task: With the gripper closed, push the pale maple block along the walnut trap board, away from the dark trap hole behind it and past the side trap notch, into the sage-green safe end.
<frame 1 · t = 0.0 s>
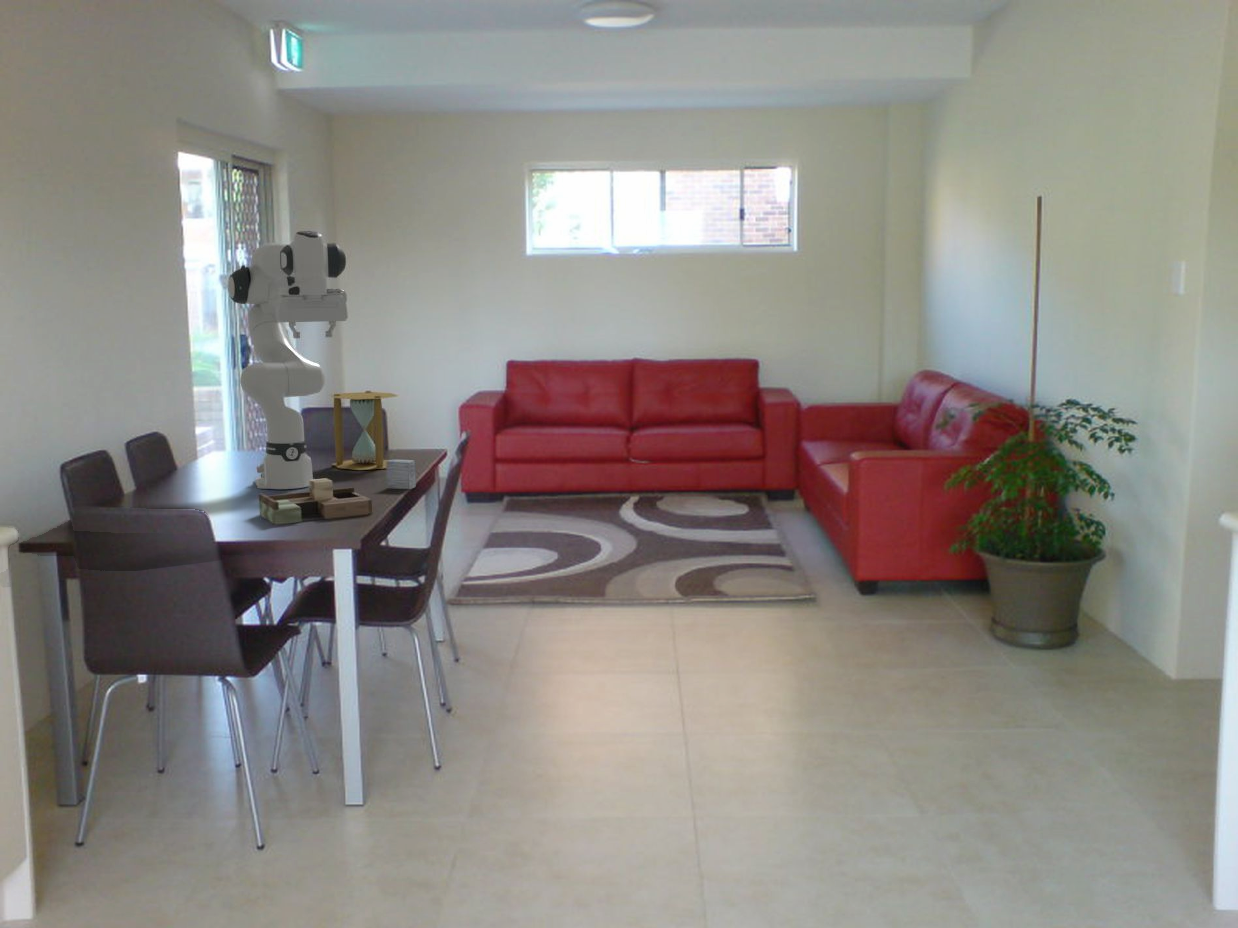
hand: (312, 337, 340), 48 cm above the table, fingers open, 8 cm apart
maple block: (321, 497, 333), point 4 cm above the table, touching trap board
trap board: (316, 514, 330), on the table
hourglass: (366, 466, 413), on the table
medicine box: (401, 488, 370), on the table
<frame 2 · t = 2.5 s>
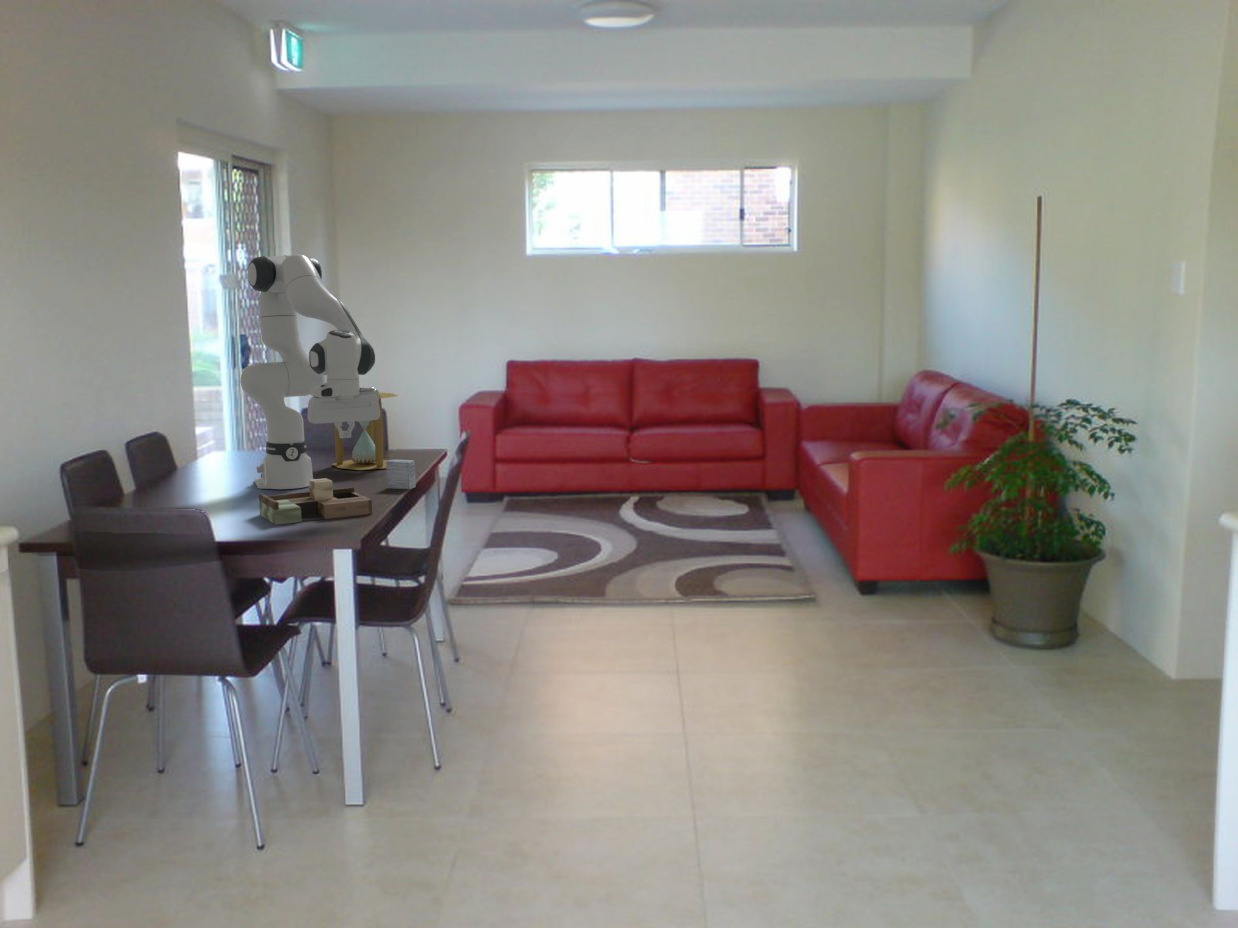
hand: (345, 437, 334), 21 cm above the table, fingers closed
nothing on the table moved.
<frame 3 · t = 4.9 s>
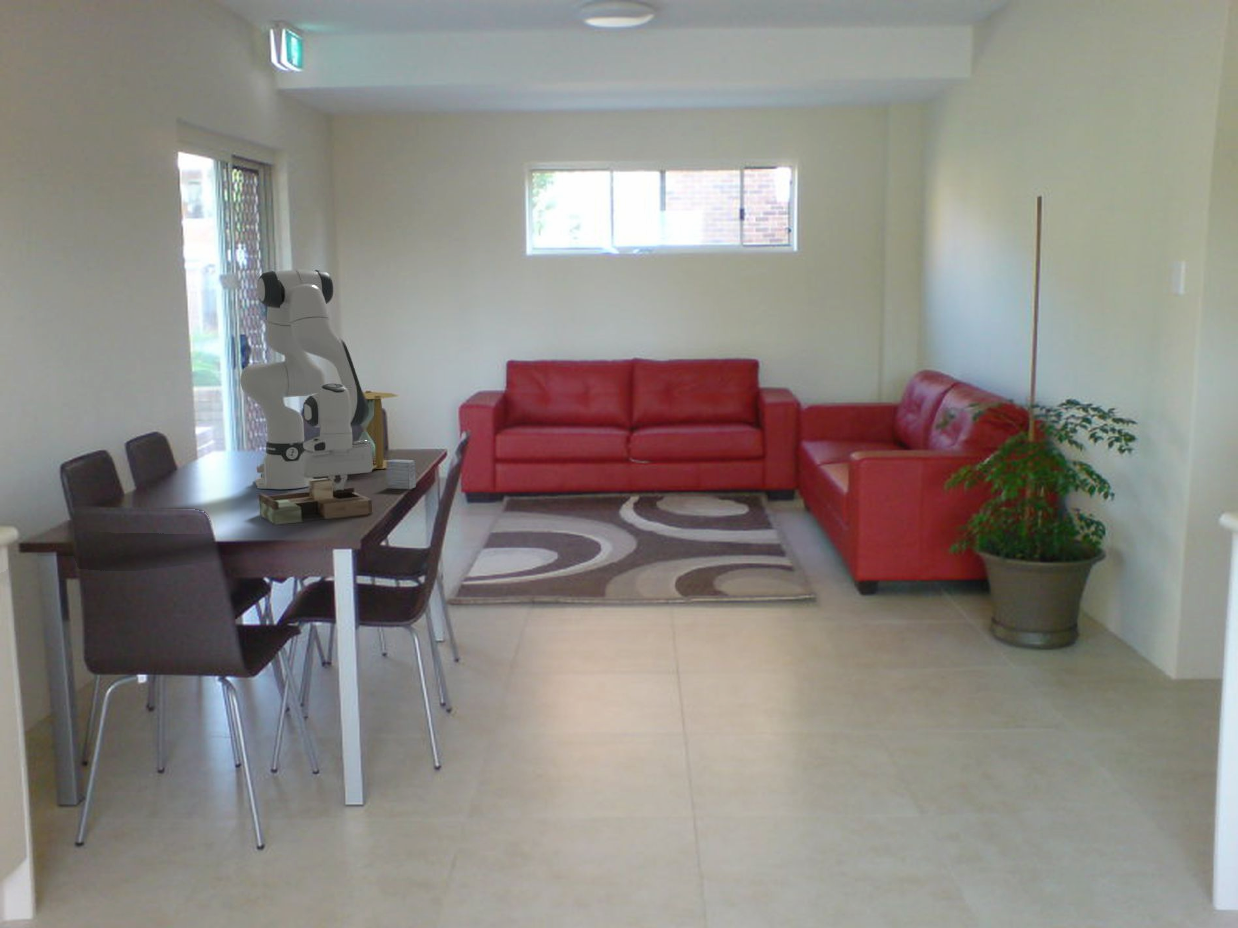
hand: (338, 490, 335), 6 cm above the table, fingers closed
maple block: (321, 497, 333), point 4 cm above the table, touching gripper, trap board
everything else where it was.
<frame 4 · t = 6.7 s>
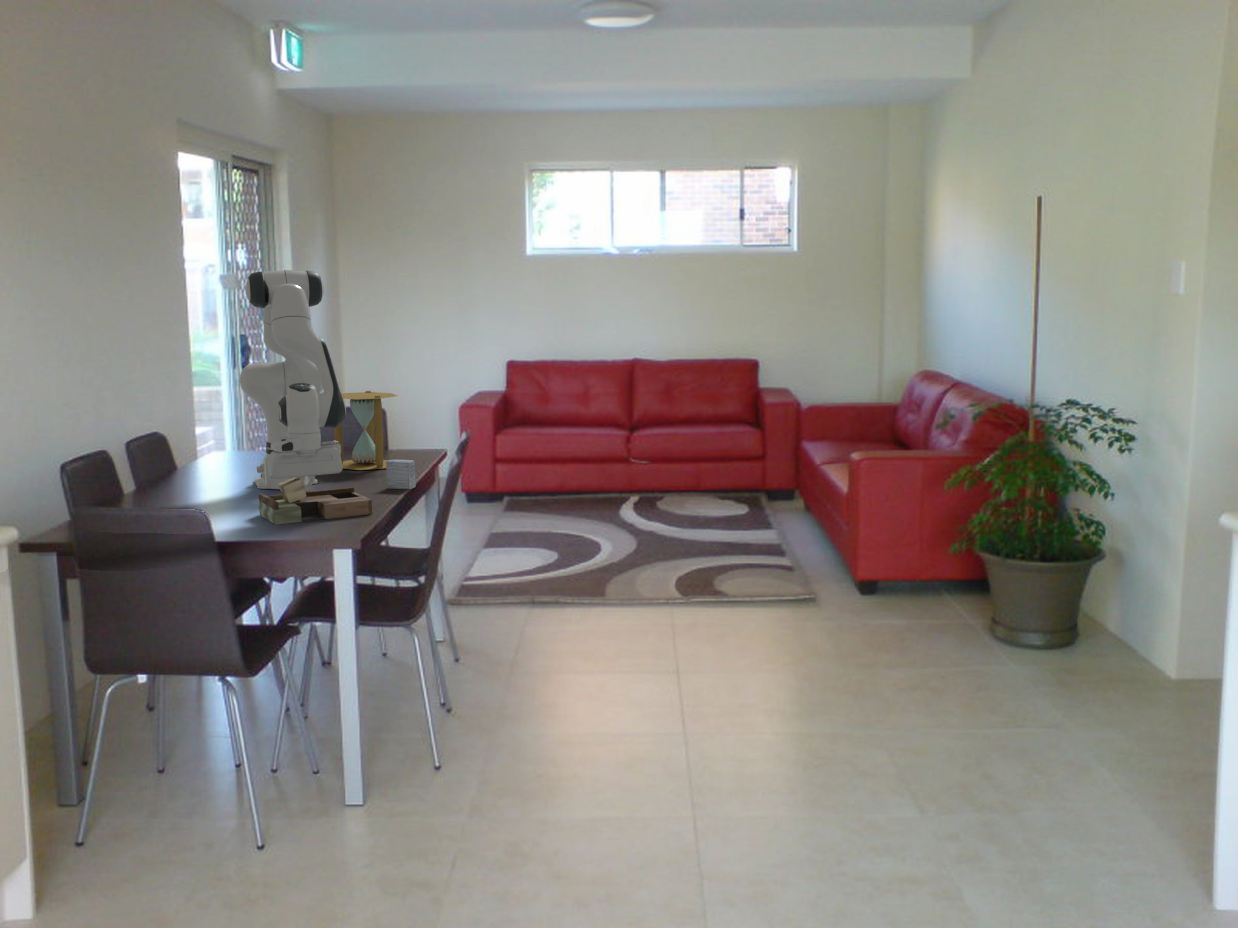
hand: (306, 492, 329), 6 cm above the table, fingers closed
maple block: (295, 498, 328), point 5 cm above the table, tilted 17°, touching gripper
everything else where it was.
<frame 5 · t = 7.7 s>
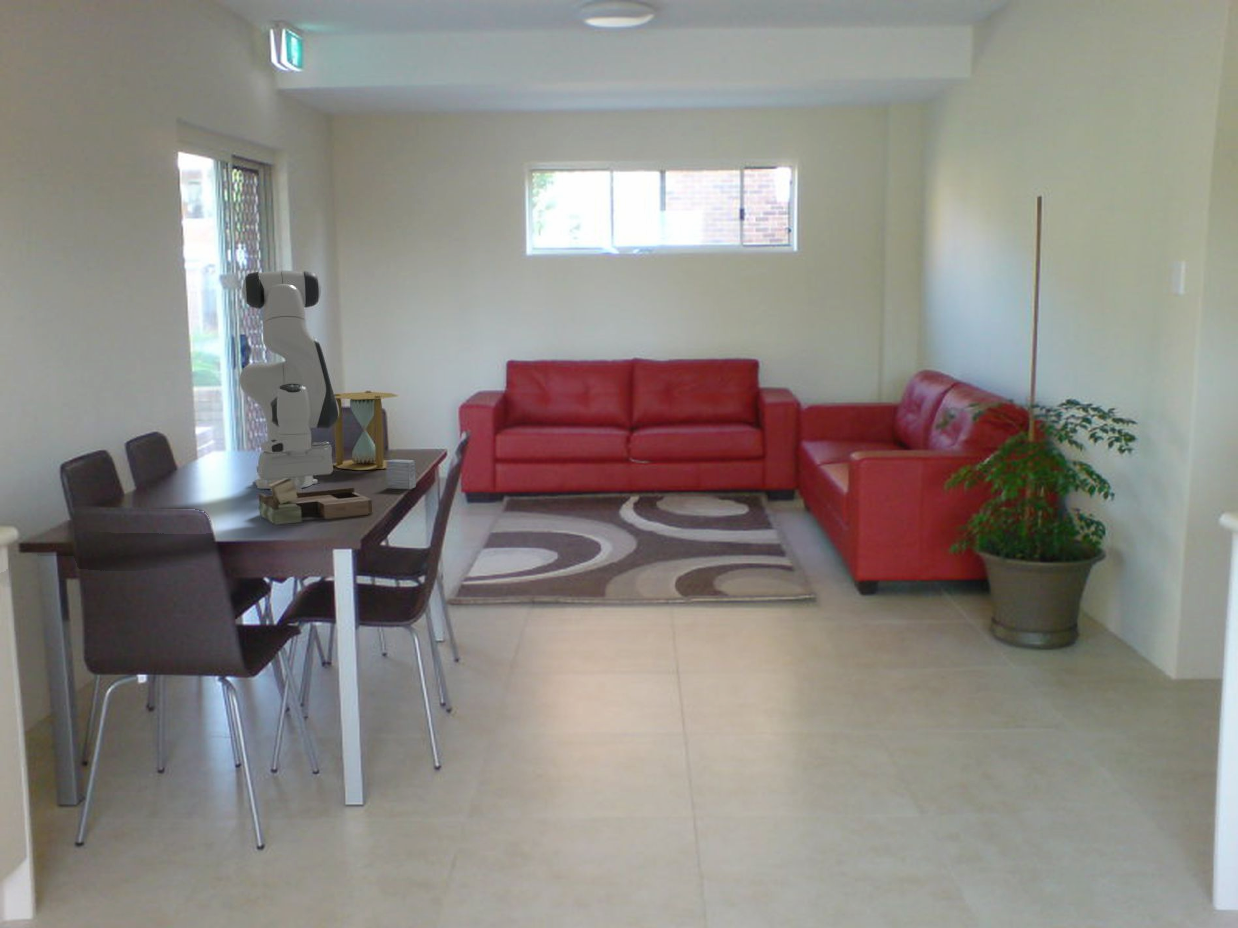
hand: (297, 492, 328), 6 cm above the table, fingers closed
maple block: (286, 499, 327), point 5 cm above the table, tilted 17°, touching gripper, trap board
everything else where it was.
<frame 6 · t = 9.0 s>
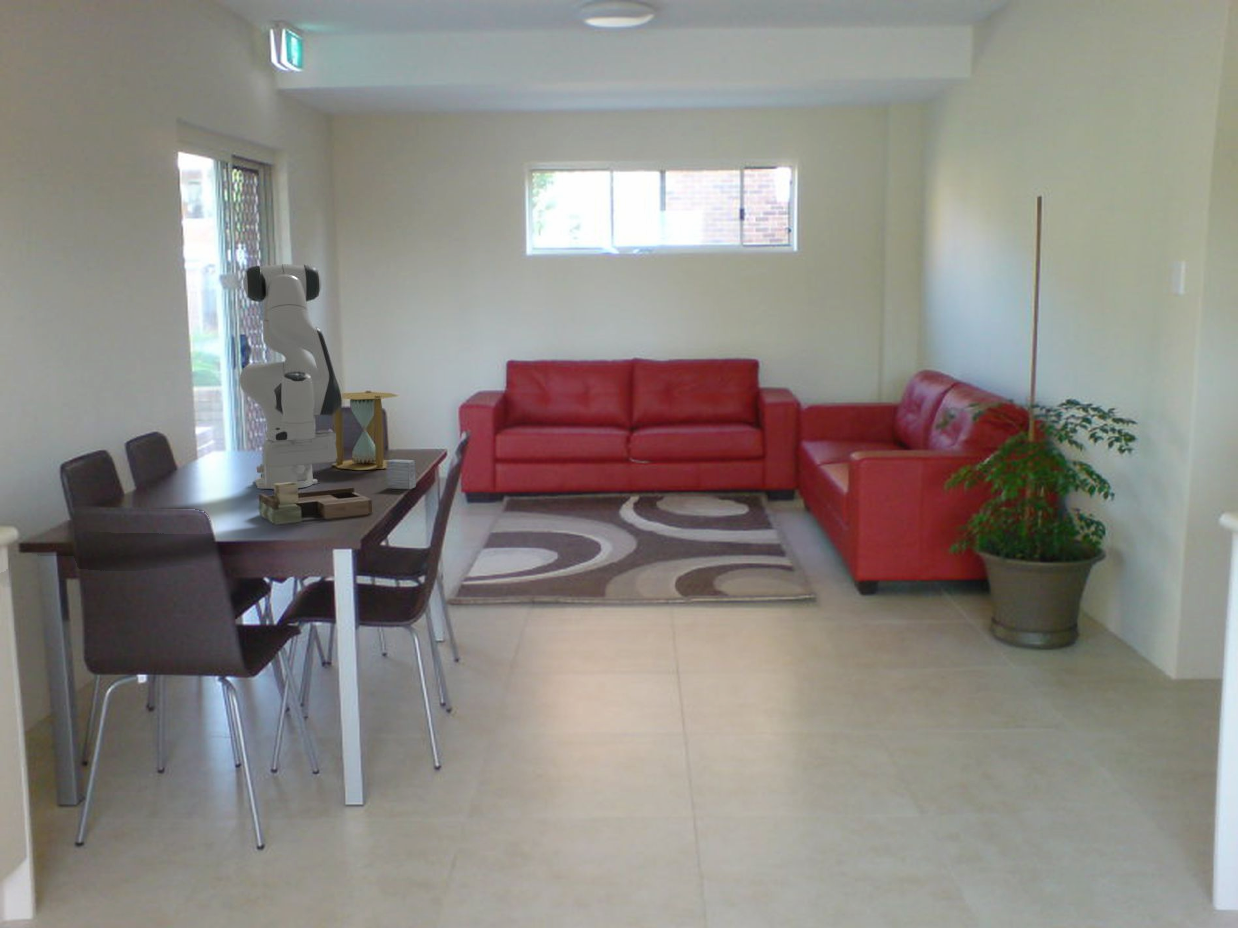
hand: (301, 480, 330), 9 cm above the table, fingers closed
maple block: (286, 502, 327), point 4 cm above the table, touching trap board
everything else where it was.
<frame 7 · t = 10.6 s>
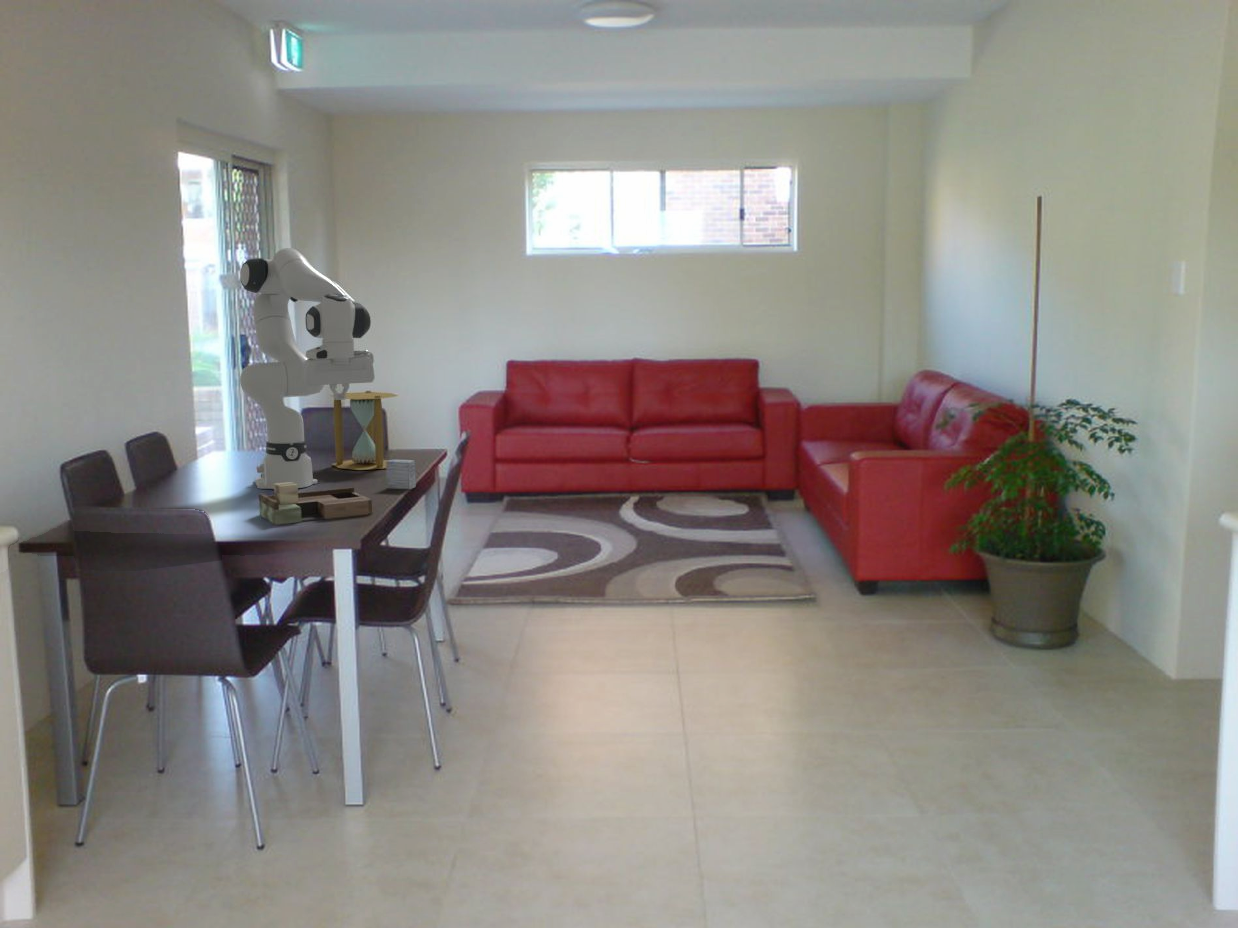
hand: (339, 399, 341), 30 cm above the table, fingers closed
nothing on the table moved.
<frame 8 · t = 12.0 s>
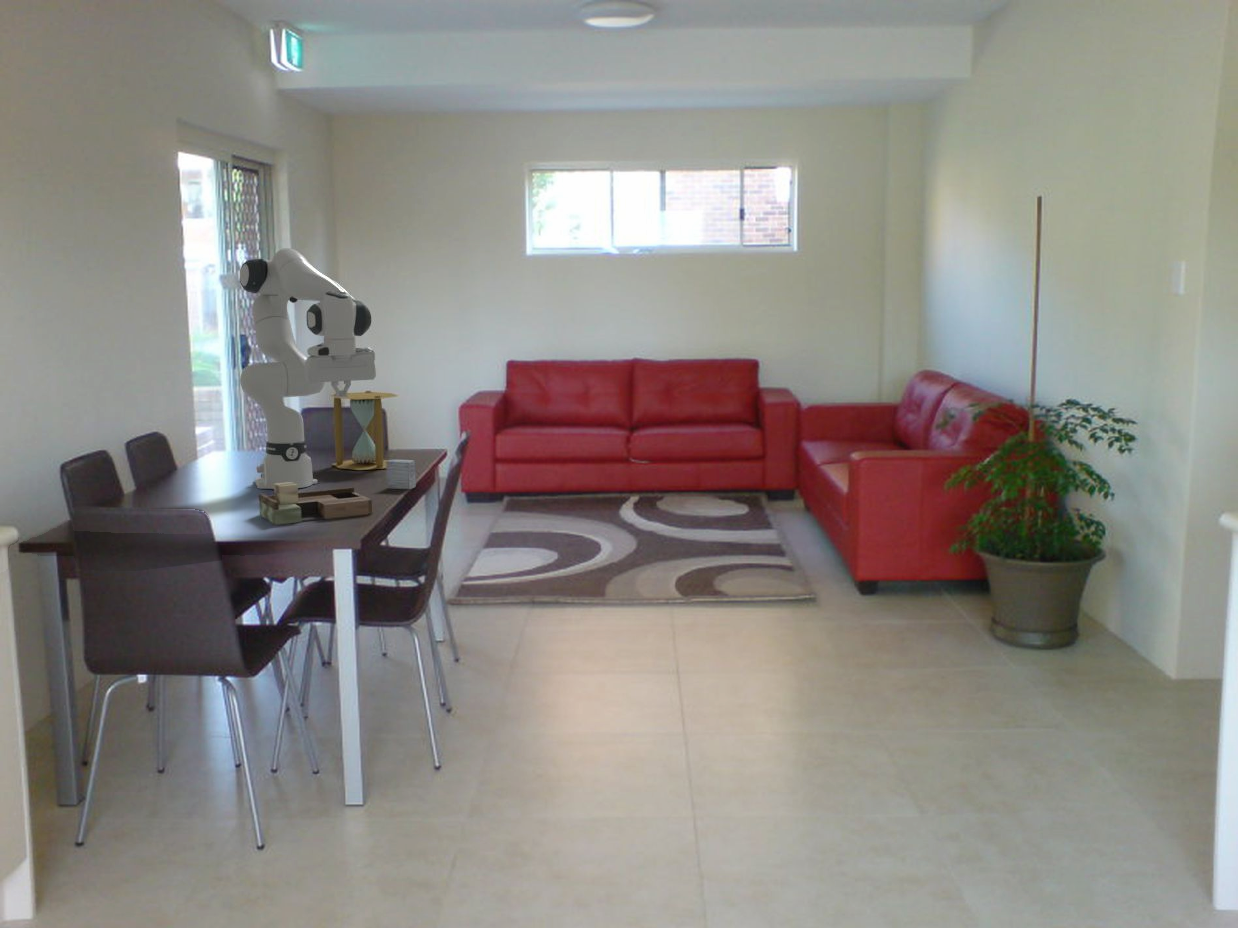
hand: (341, 396, 341), 31 cm above the table, fingers closed
nothing on the table moved.
at the end: maple block 2.0 cm from the target spot on the trap board, point 4.0 cm above the trap board's base; maple block tilted 0°; the gripper is holding nothing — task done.
